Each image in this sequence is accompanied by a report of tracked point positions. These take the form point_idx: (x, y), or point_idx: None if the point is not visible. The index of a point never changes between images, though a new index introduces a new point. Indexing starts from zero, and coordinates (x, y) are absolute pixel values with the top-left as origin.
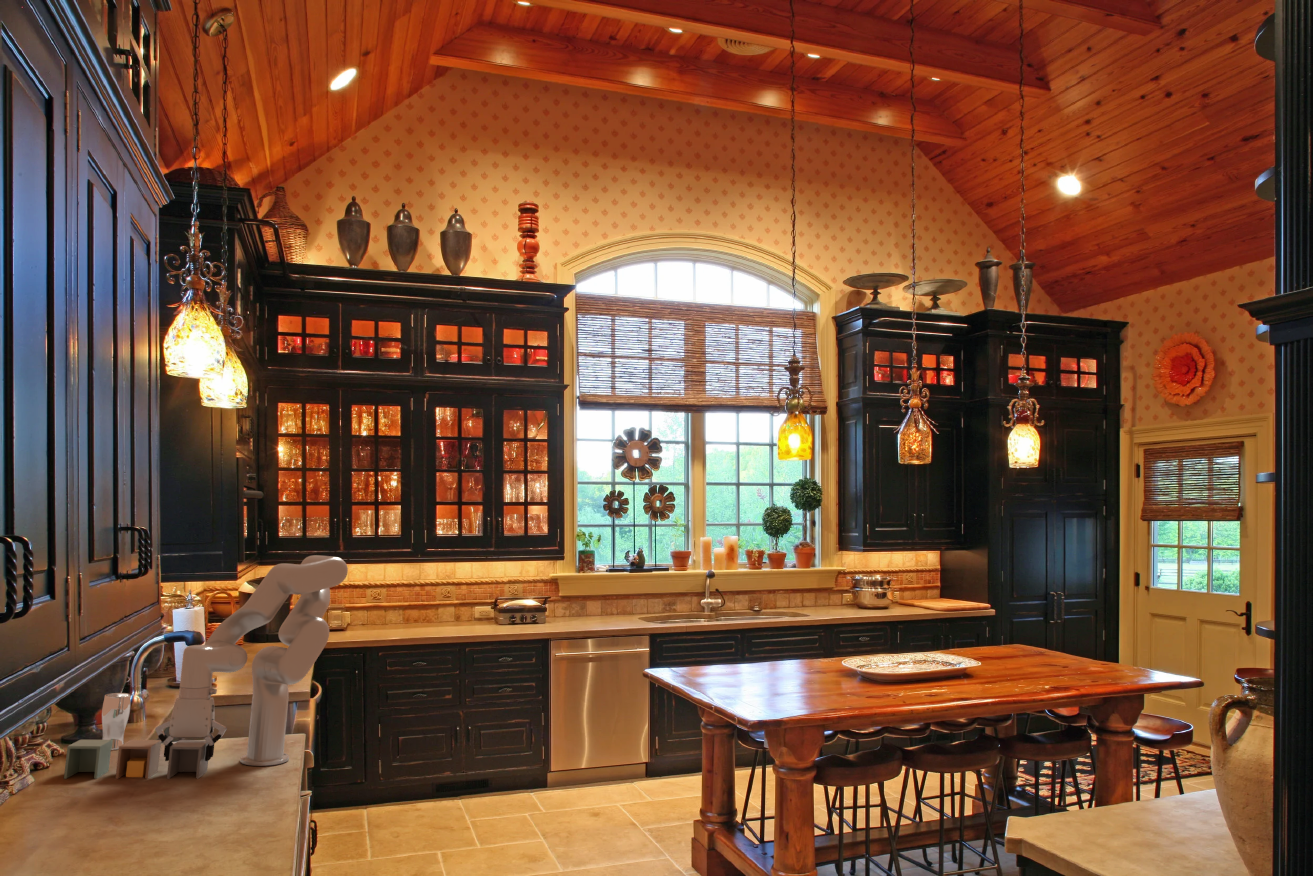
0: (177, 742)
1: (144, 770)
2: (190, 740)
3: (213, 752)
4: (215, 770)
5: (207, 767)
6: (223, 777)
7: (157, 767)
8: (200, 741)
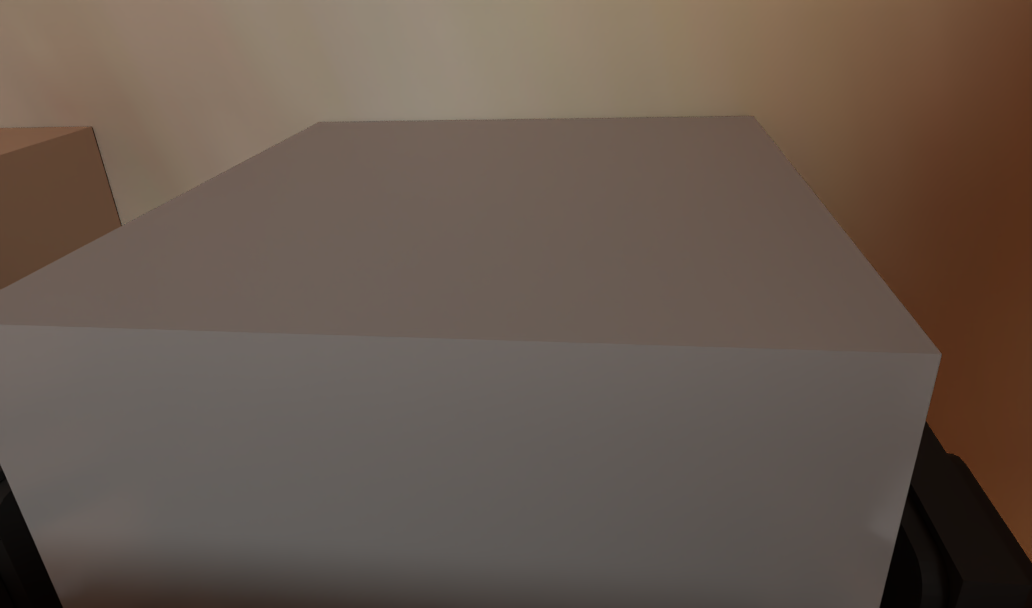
0: (68, 572)
1: None
2: (259, 367)
3: (980, 493)
4: (878, 41)
5: (762, 131)
6: (1029, 434)
7: (59, 178)
8: (624, 505)
